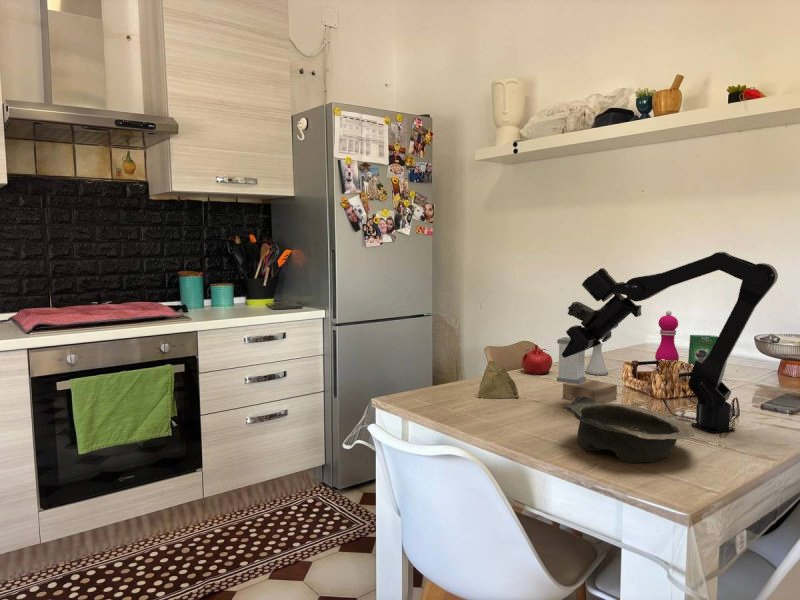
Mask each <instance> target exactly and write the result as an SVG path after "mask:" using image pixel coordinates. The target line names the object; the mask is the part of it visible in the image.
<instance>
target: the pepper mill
mask: <svg viewBox="0 0 800 600" xmlns="http://www.w3.org/2000/svg"><path fill="white" fill-rule="evenodd" d="M672 313H673V312H672V311H671V310H667V311H666V312H665V315H663V316H661V317H660V318H659V320H658V323H657V324H658V327H659V328H660V330H659V335H660V338H661V339H660V344H659V346H658V347H657V349H656V351H655V355H654V358H655V361H657V360H661V359H665V360H677V361H680V357H679V356H680V355H679V352H678V350H677V346H676V344H675V335H677V330H676V329H678V327H679V320H678V319H677V317H675V316H673V315H672Z"/></svg>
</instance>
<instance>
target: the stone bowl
mask: <svg viewBox="0 0 800 600" xmlns="http://www.w3.org/2000/svg"><path fill="white" fill-rule="evenodd" d="M562 408H563V409H564V410H566V411H568V412H570V413H571V414H573V416H574V418H575V419H576V420H578V421H579V423H578V429H577V434H576V436H577V437H576V438H577V443H578V446H580V447H581V448H582V449H584V450H587V451H588V450H589V451H595V452H596V451H602V450H611V451H613V452H614V453H615V455H616V457H617V458H618V459H619V460H620V461H622V462H627V463H630V464H639V463H641V462H644V463H647V464H649V463H653V462H656V461H657V460H660V459H663V458H664V459H665V458H667V457H668V455H669V454H670V452H671V451H672V450H673V448H674V447H675V445H676V444H677V441H678V440H685V439H689V438H693V437H694V438H695V435H694V434H695V430H694V429H693V427H692V425H690V424H688V423H687V422H684V421H680V420H678V418H675V417H673V416H671V415H667V414H664V413H660V412H657V411H654V410H653V411H652V410H650V409H646V408H645V407H639V406H634V405H630V404H622V403H618V404H617V403H611V402H610V403H609V402H606V403H599V402H597V401H595V400H593V399H592V398H587V397H585V396H584V397H581V398H576V399H575V401H574V400H572V402H571V403H570V404H569V406H568V405H566V406H562Z"/></svg>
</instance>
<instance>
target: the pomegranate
mask: <svg viewBox="0 0 800 600" xmlns="http://www.w3.org/2000/svg"><path fill="white" fill-rule="evenodd" d="M538 348H539V345H538V344H535V345H534V347H532V348H531V349H532V350H531V349H526V350H525V354H524V355H523V356H522V358H521V366H522V368H523V370H524V372H526V373H528V374H530V373H531V374H530V375H537V374H538V375H543V374H546V373H548V372H550V370H551V368H552V367H553V358H552V355H550V354H549V353H547V352H549V350H548V349H546V348H539V349H538ZM545 351H547V352H545Z"/></svg>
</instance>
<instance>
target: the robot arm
mask: <svg viewBox="0 0 800 600" xmlns="http://www.w3.org/2000/svg"><path fill="white" fill-rule="evenodd" d="M717 271H721V272H722V273H723V272H724V273H725V274H727V275H729V276H732V277H733V278H736V279H739V280H741V284H740V288H739V292H738V297H737V300H736V302H735V304H734V306H733V308H732V310H731V311H730V314H729V316H728V318H727V319H726V322H725V323H724V326H723V328H722V329H721V331H720V333H719V334H718V338H717V340H716V342H715V344H714V346H713V348H712V350H711V352H710V354H709V355H708V357H707V358H706V359H704V358H702V357H700V358H699V359H697V360H696V361H695V364H694V367H693V370H692V372H691V373H690V374H689V375H688V374H687V377H689V380H688V386H689V387H688V388H689V389H690V391H691V392H692V393H693V394H695V397H696V398H697V399H696V400H697V404H696V411H695V412H696V414H695V422H691V425H690V426H691V427H692V426H693V427H695V428H698V429H700V430H703V431H706V432H709V433H710V434H711V433H712V434H717V433H718V434H719V433H727V432H733V431H735V429H736V428H734V427H732V426H730V420H731V417H730V416H731V404H730V403H729V402H728V400H729V398H730V396H731V394H732V390H731V389H730V388H729V387H728V386H727V385H726V384H724V382H723V378H724V375H725V371H726V368H727V367H726V366H727V362H728V360H729V358H730V355H731V354H732V352H733V350H734V348H735V346H736V345H737V343H738V340H739V339H740V337H741V335H742V333H743V331H745V330H744V329H745V328H746V325H747V324H748V322H749V320H750V318H751V316H752V315H753V313H754V311H755V309H756V307H757V306H758V305H759V303H760V302H761V301H763V299H764V298H765V296H766V295H767V294H768V293H769V292H770V290H771V289H772V288H773V286H775V284H776V282H777V281H778V277H779V274H778V272H777V269H776V268H775V267H774V266H773V265H771V264H769V263H767V262H762V263H760V262H759V263H753V262H750V261H749V260H745V259H742V258H740V257H737V256H735V255H731V254H729V253H728V252H727V251H717V252H714V253H713V254H711V255H709V256H706V257H704V258H703V257H702V258H701V259H697V260H694V261H692V262H690V263H686V264H684V265H679V266H678V267H675V268H672V269H669V270H665V271H664V272H660V273H655V274H648V275H642V276H637V277H632V278H630V279H628V280H627V281H626V282H625V281H621V282H617V281H616V280H615V279H614V278H613V277H612V276H611V275H610V274H609V272H608V271H607V270H606V268H605V267H604V268H603V267H600V268H599V269H598V270H597V271H595V272H594V273H592V274H591V275H590V276H588V277H586V278H585V279H584V281H583V282H582V284H581V287H583V289H584V290H586V291H587V292H588V293H589V295H590V296H591V297H592V298H593V299H594V300H595V301H596V302H600V301H602V302H603V303H605V302H606V301H607V302H606V303H605V304H604V305H603V306H601V308H599V309H593V308H592V307H590V306H588V305H586V304H585V303H583V302H580V301H574V302H572V303H571V304H570V306H567V310H568V311H567V315H569V316H570V317H573V318H576V319H577V320H580V321H581V322H580V324H581V325H577V324H576V325H573V326H570V327H569V328H568V329H567V330H566V331H565V333H566V335H567V336H568V337H569V338H571V340H570V342H569V343H568V345H567V347H566V348H565V350H564V352H563V353H562V356H563V357H564V358H565V357H568V356H571V355H574V354H576V353H579V352H582V351H585V352H586V350H587V351H588V350H589V349H591V348H593V347H594V346H597V345H599V344H601V343H605V342H607V341H608V340H610V339H611V338H612V330H614V329H616V328H617V327H618V326H619V324H621V322H623V320H625V319H626V318H627V317H628V316H630V314H632V315H633V316H634V317H635V318H638V317H641V316H642V306H643V305H641V304H639V305H637V304H635V303H634V302H643V301H645V300H649V299H650V298H651V299H652V297H654V296H656V295H658V294H660V293H661V292H663V291H665V290H667V289H668V288H670V287H672V286H676V285H678V284H682V283H685V282H687V281H691V280H693V279H697V278H700V277H702V276H706V275H707V274H708V275H709V274H712V273H714V272H715V273H716V272H717Z"/></svg>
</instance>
